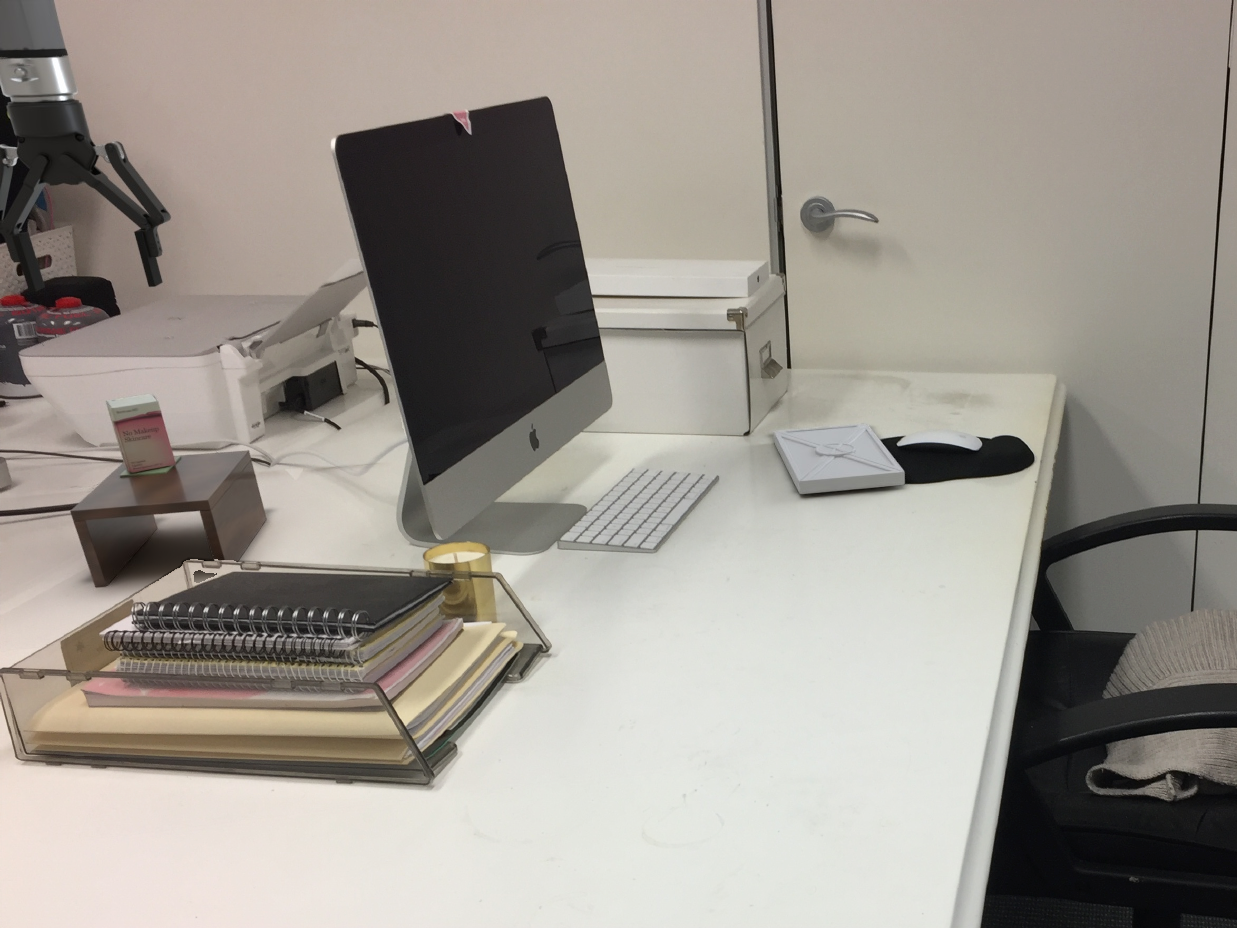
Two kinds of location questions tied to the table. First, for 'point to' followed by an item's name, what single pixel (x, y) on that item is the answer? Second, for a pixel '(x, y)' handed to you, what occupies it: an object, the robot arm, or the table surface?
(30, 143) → the robot arm
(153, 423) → the small box
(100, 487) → the shelf
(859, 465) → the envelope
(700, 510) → the table surface
